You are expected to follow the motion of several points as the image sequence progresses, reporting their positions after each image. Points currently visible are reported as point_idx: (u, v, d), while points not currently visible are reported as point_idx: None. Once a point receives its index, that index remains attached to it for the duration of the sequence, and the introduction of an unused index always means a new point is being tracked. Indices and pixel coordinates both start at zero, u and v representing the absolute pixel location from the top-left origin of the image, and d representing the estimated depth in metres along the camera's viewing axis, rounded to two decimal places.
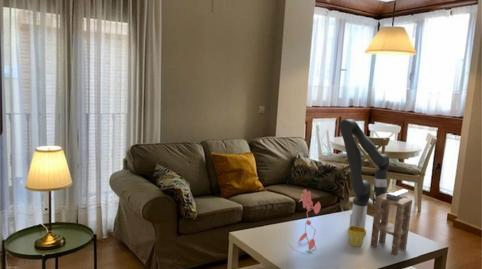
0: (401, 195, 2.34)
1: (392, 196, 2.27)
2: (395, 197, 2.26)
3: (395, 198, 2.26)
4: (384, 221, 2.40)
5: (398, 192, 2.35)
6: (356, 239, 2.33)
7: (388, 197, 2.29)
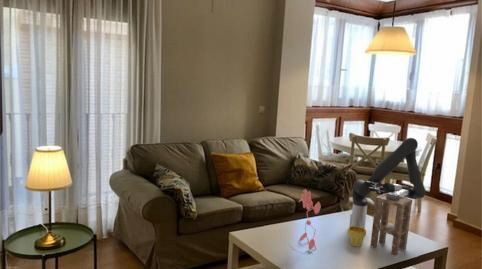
0: (401, 195, 2.34)
1: (392, 196, 2.27)
2: (395, 197, 2.26)
3: (395, 198, 2.26)
4: (384, 221, 2.40)
5: (398, 192, 2.35)
6: (356, 239, 2.33)
7: (388, 197, 2.29)
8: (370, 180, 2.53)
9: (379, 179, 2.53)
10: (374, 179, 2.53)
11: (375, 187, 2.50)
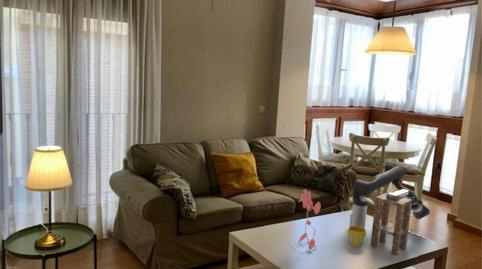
0: (401, 195, 2.34)
1: (392, 196, 2.27)
2: (395, 197, 2.26)
3: (395, 198, 2.26)
4: (384, 221, 2.40)
5: (398, 192, 2.35)
6: (356, 239, 2.33)
7: (388, 197, 2.29)
8: None
9: (378, 187, 2.62)
10: (376, 184, 2.60)
11: None
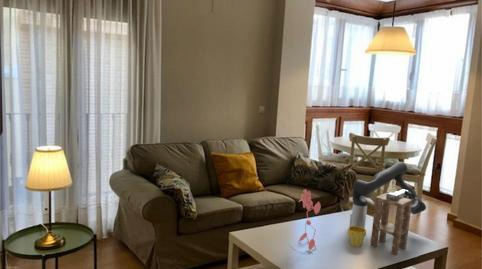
0: (401, 195, 2.34)
1: (392, 196, 2.27)
2: (395, 197, 2.26)
3: (395, 198, 2.26)
4: (384, 221, 2.40)
5: (398, 192, 2.35)
6: (356, 239, 2.33)
7: (388, 197, 2.29)
8: None
9: (379, 185, 2.61)
10: (377, 183, 2.59)
11: None
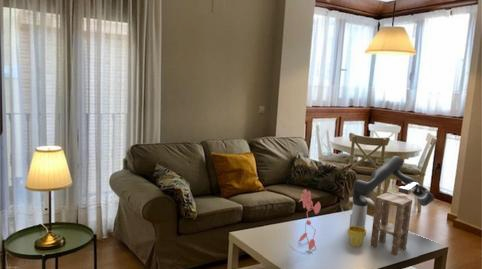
0: (412, 188, 2.43)
1: (404, 190, 2.36)
2: (407, 191, 2.35)
3: (407, 192, 2.35)
4: (384, 221, 2.40)
5: (409, 185, 2.44)
6: (356, 239, 2.33)
7: (400, 191, 2.38)
8: None
9: (378, 183, 2.62)
10: (376, 182, 2.59)
11: None
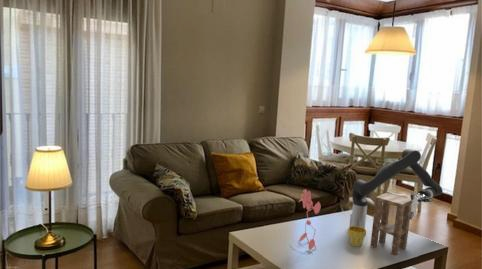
0: (415, 207, 2.45)
1: None
2: (410, 217, 2.39)
3: (410, 217, 2.40)
4: (384, 221, 2.40)
5: (412, 204, 2.46)
6: (356, 239, 2.33)
7: None
8: None
9: (381, 182, 2.56)
10: (376, 181, 2.55)
11: None
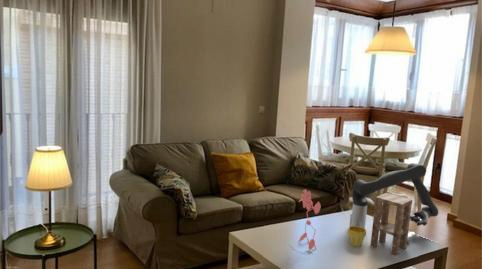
0: (410, 239, 2.48)
1: None
2: None
3: None
4: (384, 221, 2.40)
5: None
6: (356, 239, 2.33)
7: None
8: None
9: (381, 186, 2.56)
10: (378, 184, 2.55)
11: None
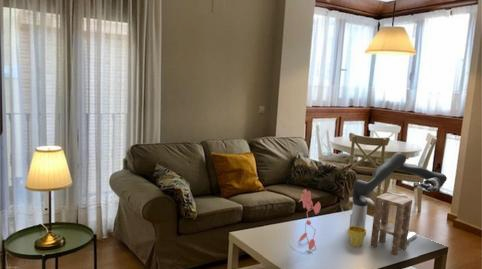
0: (410, 239, 2.48)
1: None
2: None
3: None
4: (384, 221, 2.40)
5: None
6: (356, 239, 2.33)
7: None
8: None
9: (379, 182, 2.60)
10: (376, 181, 2.58)
11: None
